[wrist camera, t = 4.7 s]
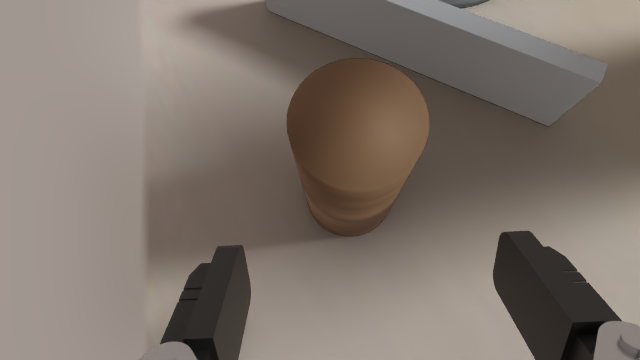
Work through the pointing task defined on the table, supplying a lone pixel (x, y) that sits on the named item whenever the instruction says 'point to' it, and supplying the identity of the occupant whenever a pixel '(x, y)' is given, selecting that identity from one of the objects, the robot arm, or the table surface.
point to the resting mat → (463, 2)
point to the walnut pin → (355, 141)
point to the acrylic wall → (458, 51)
